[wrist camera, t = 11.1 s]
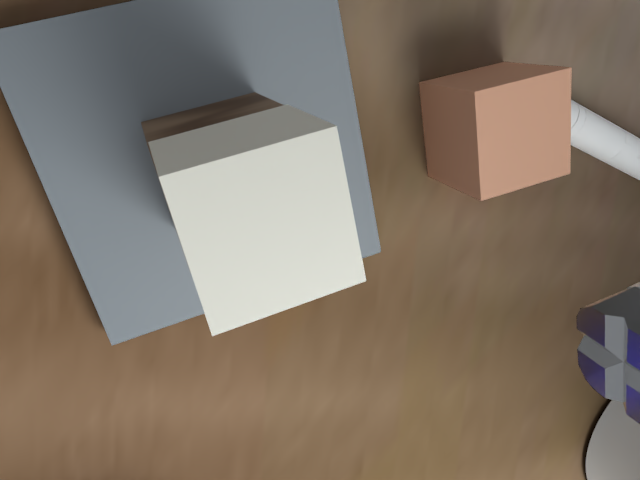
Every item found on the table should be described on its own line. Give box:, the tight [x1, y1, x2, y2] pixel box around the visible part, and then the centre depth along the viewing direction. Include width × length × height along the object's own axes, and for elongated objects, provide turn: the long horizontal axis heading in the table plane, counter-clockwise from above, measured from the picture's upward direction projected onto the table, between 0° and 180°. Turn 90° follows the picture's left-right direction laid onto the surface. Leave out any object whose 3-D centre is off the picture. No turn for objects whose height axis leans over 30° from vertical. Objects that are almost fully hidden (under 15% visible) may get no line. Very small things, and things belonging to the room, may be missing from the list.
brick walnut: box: [141, 92, 283, 273], centre depth 23 cm, size 5×5×5 cm
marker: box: [571, 100, 640, 180], centre depth 33 cm, size 18×2×2 cm, turn 65°
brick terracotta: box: [419, 62, 571, 201], centre depth 28 cm, size 5×5×5 cm
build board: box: [0, 0, 381, 345], centre depth 25 cm, size 14×14×1 cm
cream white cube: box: [148, 104, 366, 336], centre depth 18 cm, size 5×5×5 cm
